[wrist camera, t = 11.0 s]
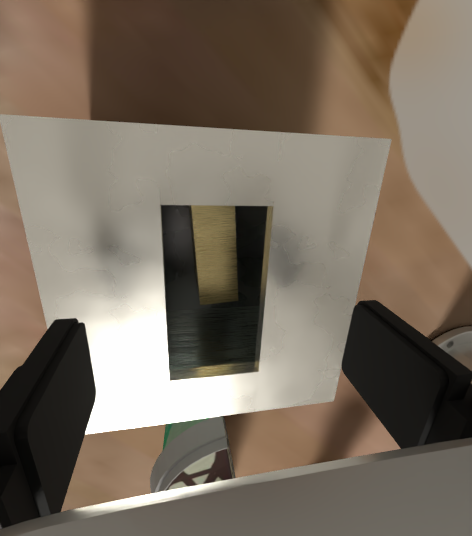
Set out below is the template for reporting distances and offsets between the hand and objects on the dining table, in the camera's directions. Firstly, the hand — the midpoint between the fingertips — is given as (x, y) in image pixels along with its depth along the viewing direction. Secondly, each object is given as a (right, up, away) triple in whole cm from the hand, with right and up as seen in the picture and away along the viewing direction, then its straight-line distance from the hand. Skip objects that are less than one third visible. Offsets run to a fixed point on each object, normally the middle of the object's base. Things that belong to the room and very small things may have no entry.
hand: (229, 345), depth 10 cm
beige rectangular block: (-2, +8, +9) cm, 12 cm away
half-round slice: (-5, -11, +19) cm, 22 cm away
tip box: (-3, +5, +13) cm, 14 cm away
